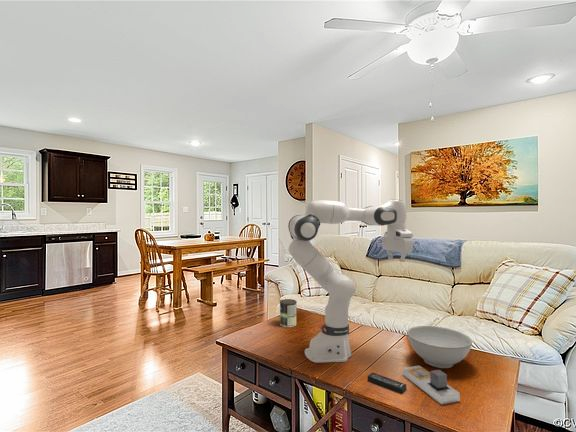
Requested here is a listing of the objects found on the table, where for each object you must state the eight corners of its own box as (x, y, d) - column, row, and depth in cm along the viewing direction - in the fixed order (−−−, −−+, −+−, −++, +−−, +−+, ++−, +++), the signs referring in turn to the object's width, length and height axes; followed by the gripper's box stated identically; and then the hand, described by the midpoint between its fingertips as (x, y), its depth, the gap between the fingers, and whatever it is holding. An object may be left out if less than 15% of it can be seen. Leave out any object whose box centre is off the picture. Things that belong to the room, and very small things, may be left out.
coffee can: (278, 326, 194) (278, 303, 194) (280, 321, 204) (280, 298, 204) (295, 327, 193) (296, 303, 193) (297, 321, 203) (297, 299, 203)
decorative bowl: (464, 353, 158) (465, 329, 157) (478, 381, 132) (479, 351, 132) (405, 346, 166) (406, 323, 166) (408, 371, 140) (408, 343, 140)
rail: (441, 404, 116) (441, 395, 116) (403, 375, 137) (403, 367, 137) (459, 401, 118) (459, 392, 118) (419, 372, 139) (419, 365, 139)
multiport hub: (372, 377, 135) (372, 372, 135) (406, 390, 126) (406, 384, 126) (367, 381, 132) (367, 376, 132) (402, 395, 122) (402, 389, 122)
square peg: (437, 397, 120) (438, 376, 120) (430, 392, 124) (430, 371, 124) (446, 396, 121) (446, 374, 121) (439, 390, 125) (439, 369, 125)
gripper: (379, 231, 170) (378, 257, 170) (403, 233, 150) (403, 263, 151) (389, 231, 172) (389, 257, 172) (415, 233, 152) (415, 263, 152)
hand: (396, 260), depth 161 cm, fingers open, 8 cm apart
